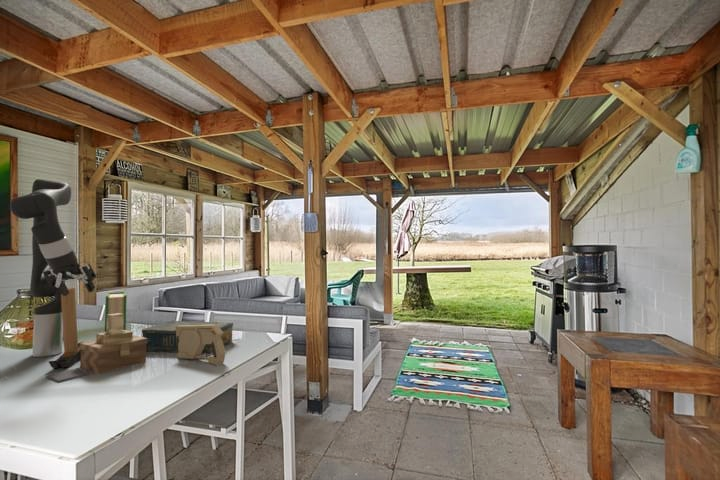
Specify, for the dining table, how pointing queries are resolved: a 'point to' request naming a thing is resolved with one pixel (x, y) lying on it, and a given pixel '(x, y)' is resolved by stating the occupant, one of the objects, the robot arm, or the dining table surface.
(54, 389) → the dining table surface
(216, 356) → the gun
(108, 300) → the hardback book
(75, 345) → the hammer
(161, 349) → the metal box
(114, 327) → the wooden block
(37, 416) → the dining table surface
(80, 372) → the rubber mat
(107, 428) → the dining table surface
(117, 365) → the stacked wooden tiers
